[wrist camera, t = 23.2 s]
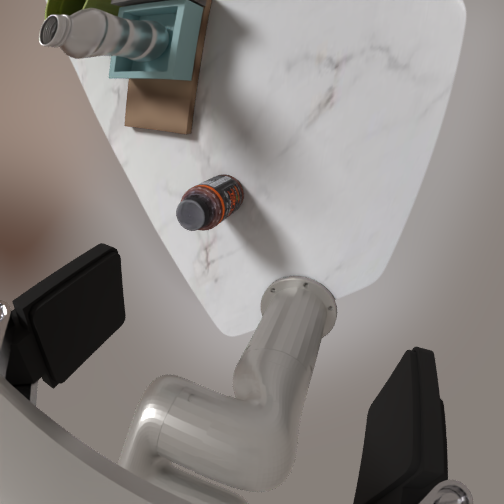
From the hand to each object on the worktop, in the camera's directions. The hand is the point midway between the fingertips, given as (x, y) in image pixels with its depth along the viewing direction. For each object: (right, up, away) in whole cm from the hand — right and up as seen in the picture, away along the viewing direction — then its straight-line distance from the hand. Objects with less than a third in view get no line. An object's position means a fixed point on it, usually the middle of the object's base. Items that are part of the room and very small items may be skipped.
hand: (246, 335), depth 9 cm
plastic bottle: (-14, +33, +29) cm, 46 cm away
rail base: (-13, +32, +32) cm, 47 cm away
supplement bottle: (-4, +11, +39) cm, 40 cm away
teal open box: (-13, +33, +30) cm, 46 cm away
